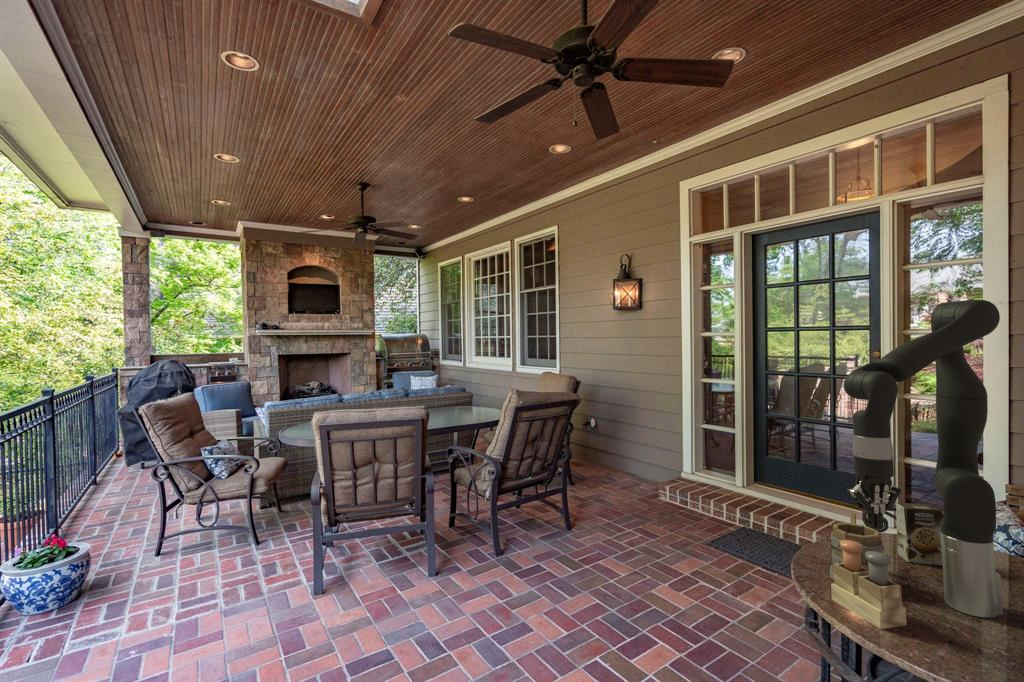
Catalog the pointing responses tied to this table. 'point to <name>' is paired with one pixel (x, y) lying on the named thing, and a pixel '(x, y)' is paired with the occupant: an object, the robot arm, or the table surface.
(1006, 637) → the table surface
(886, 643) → the table surface
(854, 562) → the terracotta plug
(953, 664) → the table surface
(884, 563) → the grey mushroom plug
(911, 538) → the coffee box
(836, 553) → the tankard
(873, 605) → the frame
